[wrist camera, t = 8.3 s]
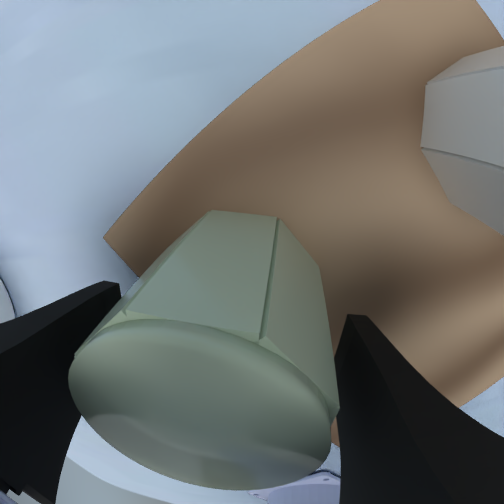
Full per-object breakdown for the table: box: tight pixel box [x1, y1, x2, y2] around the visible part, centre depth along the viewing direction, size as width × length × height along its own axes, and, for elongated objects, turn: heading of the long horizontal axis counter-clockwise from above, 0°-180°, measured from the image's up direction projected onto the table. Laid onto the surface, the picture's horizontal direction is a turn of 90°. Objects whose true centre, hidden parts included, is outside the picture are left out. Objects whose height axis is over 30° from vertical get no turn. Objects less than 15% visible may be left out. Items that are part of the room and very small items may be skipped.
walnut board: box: [103, 0, 504, 447], centre depth 10 cm, size 20×18×1 cm
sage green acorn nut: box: [68, 210, 340, 490], centre depth 8 cm, size 6×6×7 cm
